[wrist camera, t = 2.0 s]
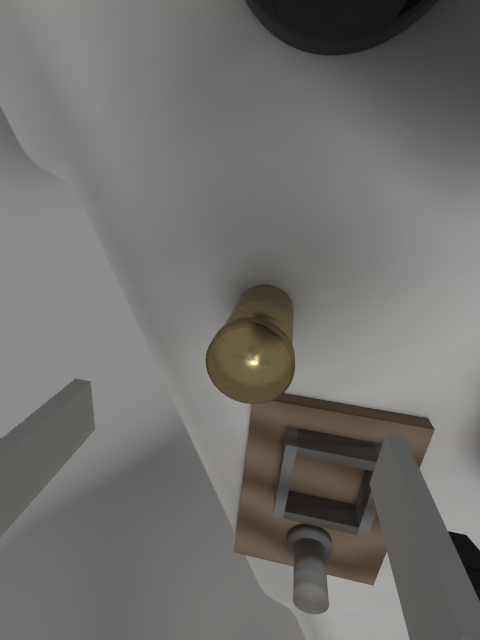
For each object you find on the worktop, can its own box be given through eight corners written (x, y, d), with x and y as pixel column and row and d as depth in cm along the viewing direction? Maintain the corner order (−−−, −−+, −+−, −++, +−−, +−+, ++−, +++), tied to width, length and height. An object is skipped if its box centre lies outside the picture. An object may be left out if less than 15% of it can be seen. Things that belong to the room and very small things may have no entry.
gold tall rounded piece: (237, 278, 28) (207, 319, 18) (300, 286, 27) (301, 333, 18) (232, 335, 30) (202, 397, 20) (291, 344, 29) (287, 412, 20)
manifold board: (255, 388, 31) (243, 443, 24) (428, 418, 29) (468, 487, 22) (236, 539, 39) (222, 612, 33) (370, 571, 37) (386, 655, 31)
